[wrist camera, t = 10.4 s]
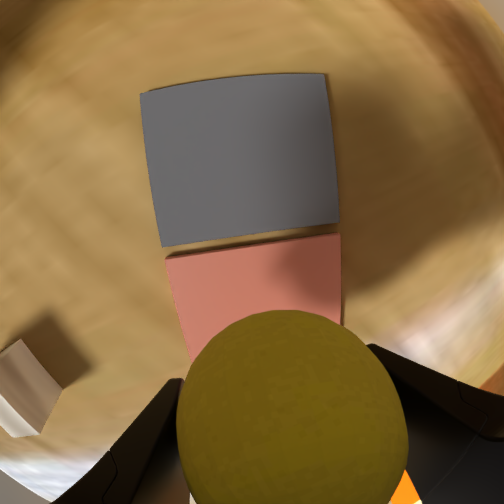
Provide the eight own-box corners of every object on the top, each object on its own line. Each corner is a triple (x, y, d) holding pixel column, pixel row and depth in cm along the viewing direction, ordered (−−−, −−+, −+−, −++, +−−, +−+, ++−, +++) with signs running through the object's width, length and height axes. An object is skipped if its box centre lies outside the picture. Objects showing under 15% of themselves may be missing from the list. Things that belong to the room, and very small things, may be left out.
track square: (163, 245, 11) (162, 247, 11) (141, 95, 9) (139, 93, 9) (336, 220, 11) (339, 222, 11) (321, 76, 9) (323, 74, 9)
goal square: (196, 373, 13) (196, 377, 13) (166, 257, 11) (164, 259, 11) (336, 349, 13) (338, 352, 13) (337, 232, 11) (340, 234, 11)
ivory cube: (34, 398, 13) (13, 437, 9) (-3, 354, 12) (-32, 389, 8) (63, 388, 13) (39, 434, 9) (21, 337, 12) (-13, 377, 8)
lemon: (301, 237, 9) (496, 442, 1) (353, 351, 11) (452, 508, 3) (157, 315, 9) (95, 549, 2) (237, 407, 11) (259, 579, 3)
